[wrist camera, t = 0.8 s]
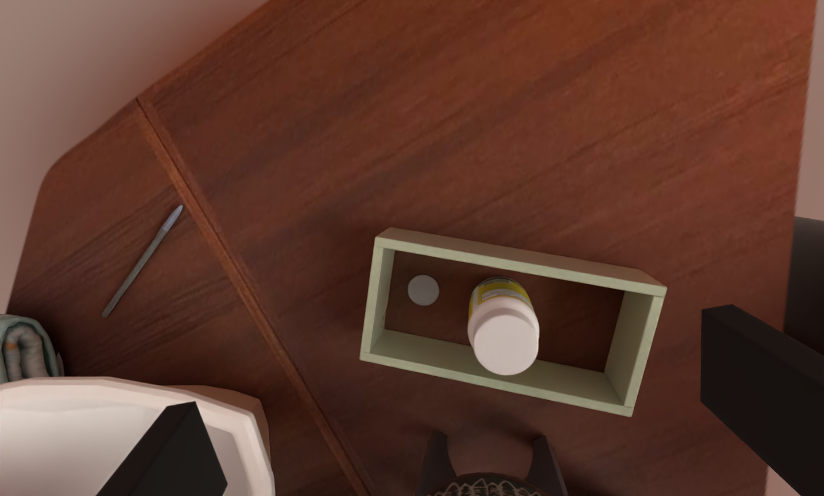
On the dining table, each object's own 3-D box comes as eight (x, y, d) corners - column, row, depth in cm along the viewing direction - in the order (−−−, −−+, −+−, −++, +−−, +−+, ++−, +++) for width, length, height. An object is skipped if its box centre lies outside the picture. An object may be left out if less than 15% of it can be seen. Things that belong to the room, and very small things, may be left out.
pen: (109, 317, 41) (187, 207, 37) (102, 318, 40) (180, 206, 37) (105, 311, 41) (182, 201, 38) (98, 311, 41) (176, 200, 37)
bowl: (323, 332, 38) (263, 396, 27) (332, 573, 42) (284, 704, 32) (83, 317, 41) (-49, 368, 31) (116, 540, 46) (10, 649, 35)
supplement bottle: (502, 343, 35) (508, 396, 27) (457, 306, 35) (450, 349, 27) (542, 300, 34) (561, 343, 26) (496, 263, 34) (500, 293, 26)
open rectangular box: (640, 269, 33) (667, 287, 28) (610, 382, 35) (631, 417, 30) (389, 226, 35) (374, 236, 30) (375, 334, 37) (358, 360, 32)
